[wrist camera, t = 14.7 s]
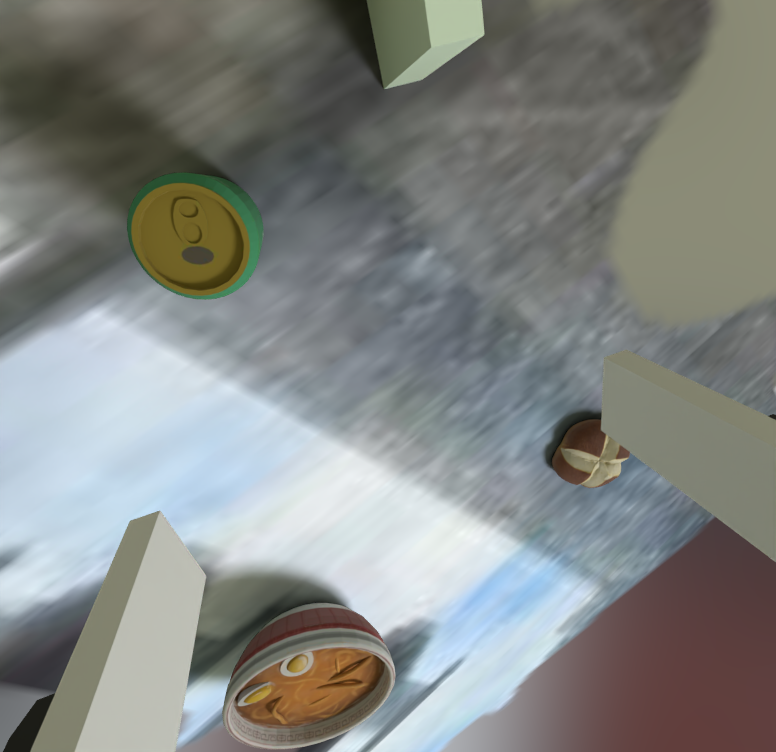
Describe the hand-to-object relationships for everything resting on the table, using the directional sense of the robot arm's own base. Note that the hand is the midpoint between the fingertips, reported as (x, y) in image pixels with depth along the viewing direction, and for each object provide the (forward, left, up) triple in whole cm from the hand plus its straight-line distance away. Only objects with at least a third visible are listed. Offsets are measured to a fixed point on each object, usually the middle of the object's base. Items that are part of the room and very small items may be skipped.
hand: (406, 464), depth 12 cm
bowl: (+25, -49, -32) cm, 64 cm away
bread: (+48, -4, -32) cm, 58 cm away
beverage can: (-9, -1, -32) cm, 33 cm away
